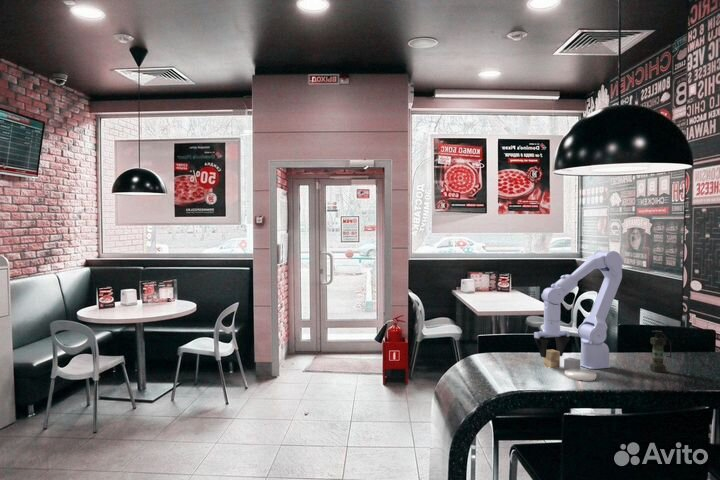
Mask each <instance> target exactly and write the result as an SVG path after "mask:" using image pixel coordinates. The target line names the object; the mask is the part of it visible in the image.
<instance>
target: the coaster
mask: <svg viewBox="0 0 720 480" xmlns="http://www.w3.org/2000/svg"><path fill="white" fill-rule="evenodd" d="M563 374H564V377H565V376H566V378H567V377H568V379H569V380H574V381H579V380H583V381H582V382H593V380H594V381H596V380H597V373H596V372H594V371H591V370H588V369H581V368H580V369H566V370H564V373H563ZM595 379H596V380H595Z"/></svg>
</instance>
